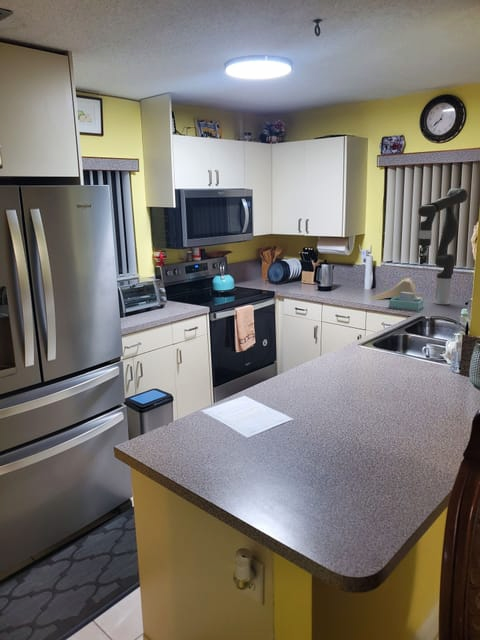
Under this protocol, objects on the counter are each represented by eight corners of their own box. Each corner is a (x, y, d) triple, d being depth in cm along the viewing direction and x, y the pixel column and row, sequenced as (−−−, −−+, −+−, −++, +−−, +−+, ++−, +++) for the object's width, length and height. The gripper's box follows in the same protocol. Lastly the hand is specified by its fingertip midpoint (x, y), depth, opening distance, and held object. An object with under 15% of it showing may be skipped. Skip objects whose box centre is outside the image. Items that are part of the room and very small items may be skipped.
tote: (394, 304, 326) (395, 296, 325) (422, 306, 317) (423, 299, 316) (388, 307, 313) (389, 300, 312) (417, 310, 304) (418, 302, 303)
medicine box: (413, 306, 314) (414, 292, 312) (410, 307, 311) (412, 293, 309) (401, 304, 319) (402, 291, 317) (398, 305, 315) (399, 292, 313)
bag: (417, 302, 355) (368, 298, 359) (419, 278, 353) (370, 274, 357) (424, 304, 336) (372, 300, 340) (427, 279, 334) (375, 275, 338)
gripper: (421, 237, 314) (419, 262, 318) (416, 238, 302) (414, 264, 306) (433, 237, 310) (431, 263, 314) (429, 238, 299) (426, 265, 302)
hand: (422, 263), depth 310 cm, fingers open, 8 cm apart
